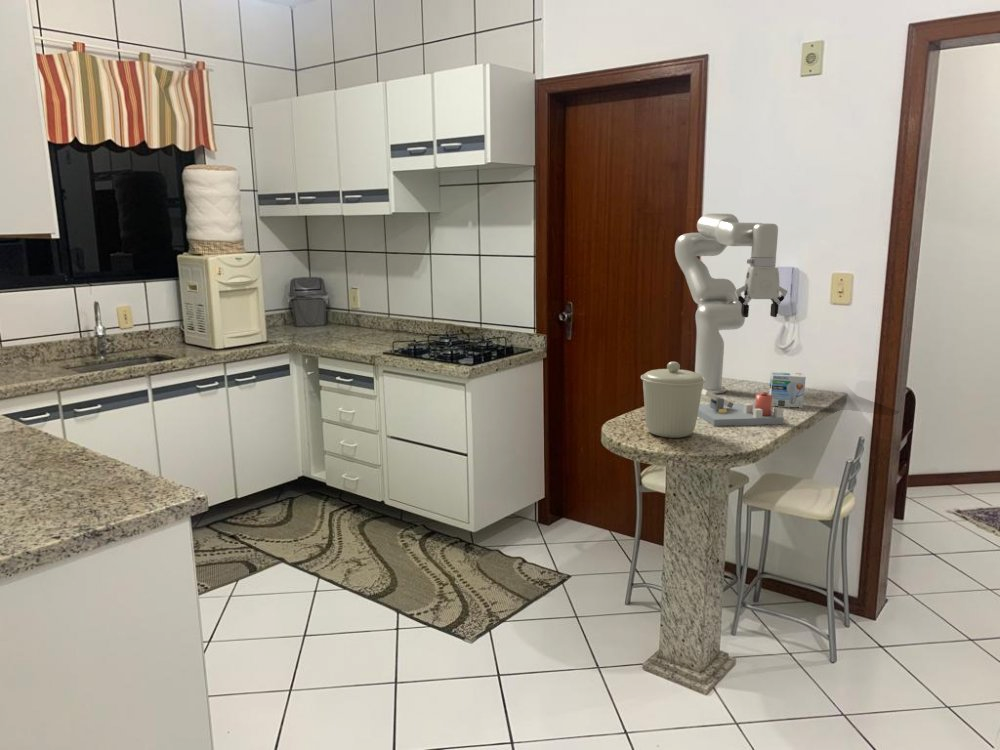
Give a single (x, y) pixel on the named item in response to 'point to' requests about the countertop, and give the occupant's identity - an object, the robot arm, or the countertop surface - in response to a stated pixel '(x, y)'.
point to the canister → (672, 400)
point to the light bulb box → (787, 389)
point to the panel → (737, 414)
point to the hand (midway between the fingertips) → (759, 316)
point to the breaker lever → (716, 398)
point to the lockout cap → (764, 403)
